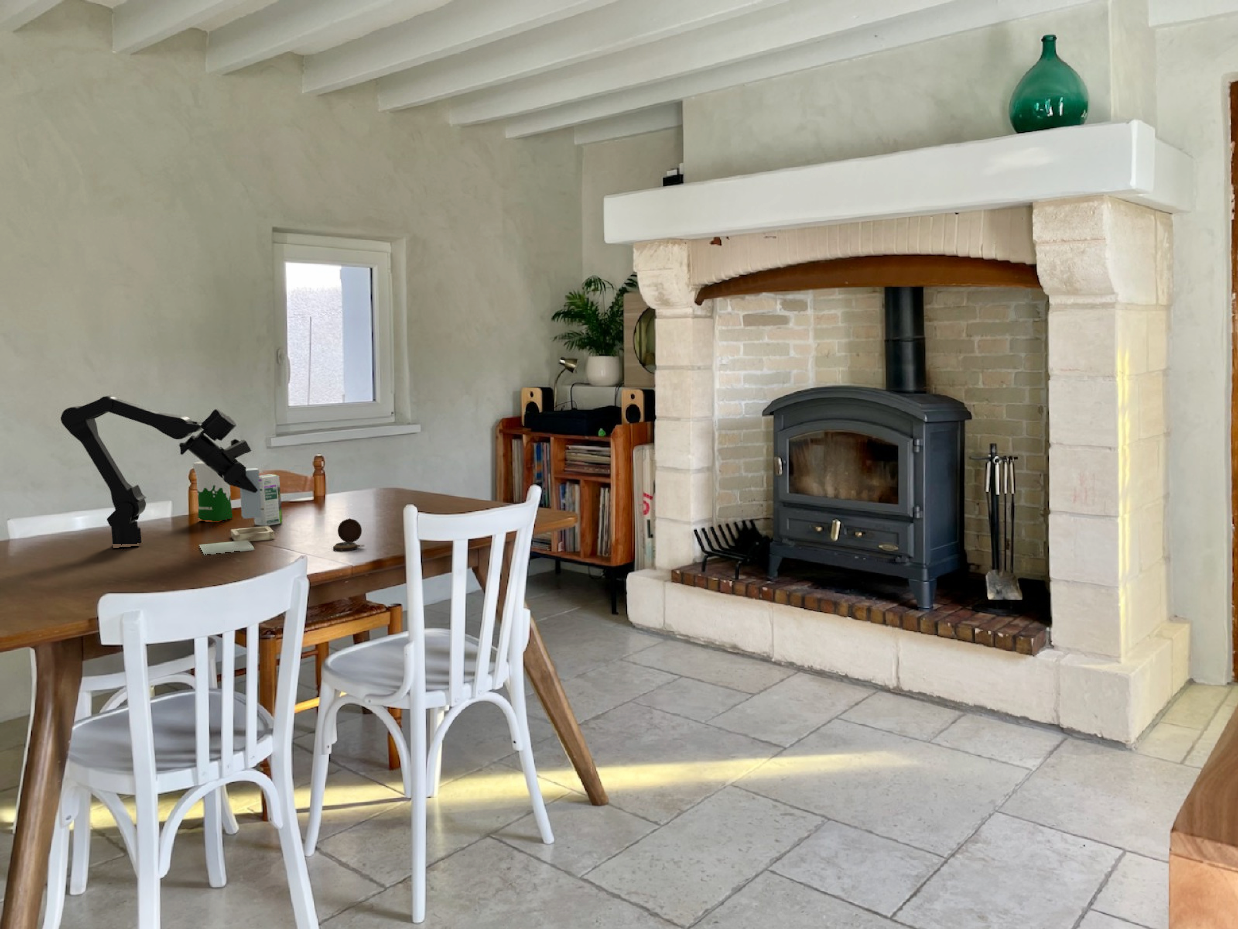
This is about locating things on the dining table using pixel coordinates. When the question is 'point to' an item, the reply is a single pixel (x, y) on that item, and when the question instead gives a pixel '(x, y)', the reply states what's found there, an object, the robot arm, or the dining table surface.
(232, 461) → the robot arm
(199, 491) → the milk carton
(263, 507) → the syrup box
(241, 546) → the plate
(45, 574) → the dining table surface
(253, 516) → the link block
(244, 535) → the holder
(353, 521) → the compass
